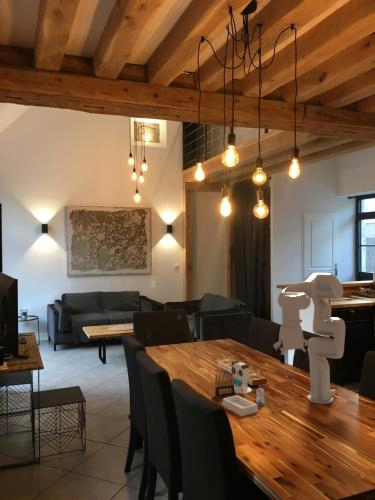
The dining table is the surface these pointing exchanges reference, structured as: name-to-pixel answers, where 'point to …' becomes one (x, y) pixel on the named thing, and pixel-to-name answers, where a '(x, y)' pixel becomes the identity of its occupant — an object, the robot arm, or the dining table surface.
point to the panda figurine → (240, 377)
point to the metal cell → (260, 397)
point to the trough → (240, 405)
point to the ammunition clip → (224, 385)
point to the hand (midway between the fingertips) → (292, 361)
